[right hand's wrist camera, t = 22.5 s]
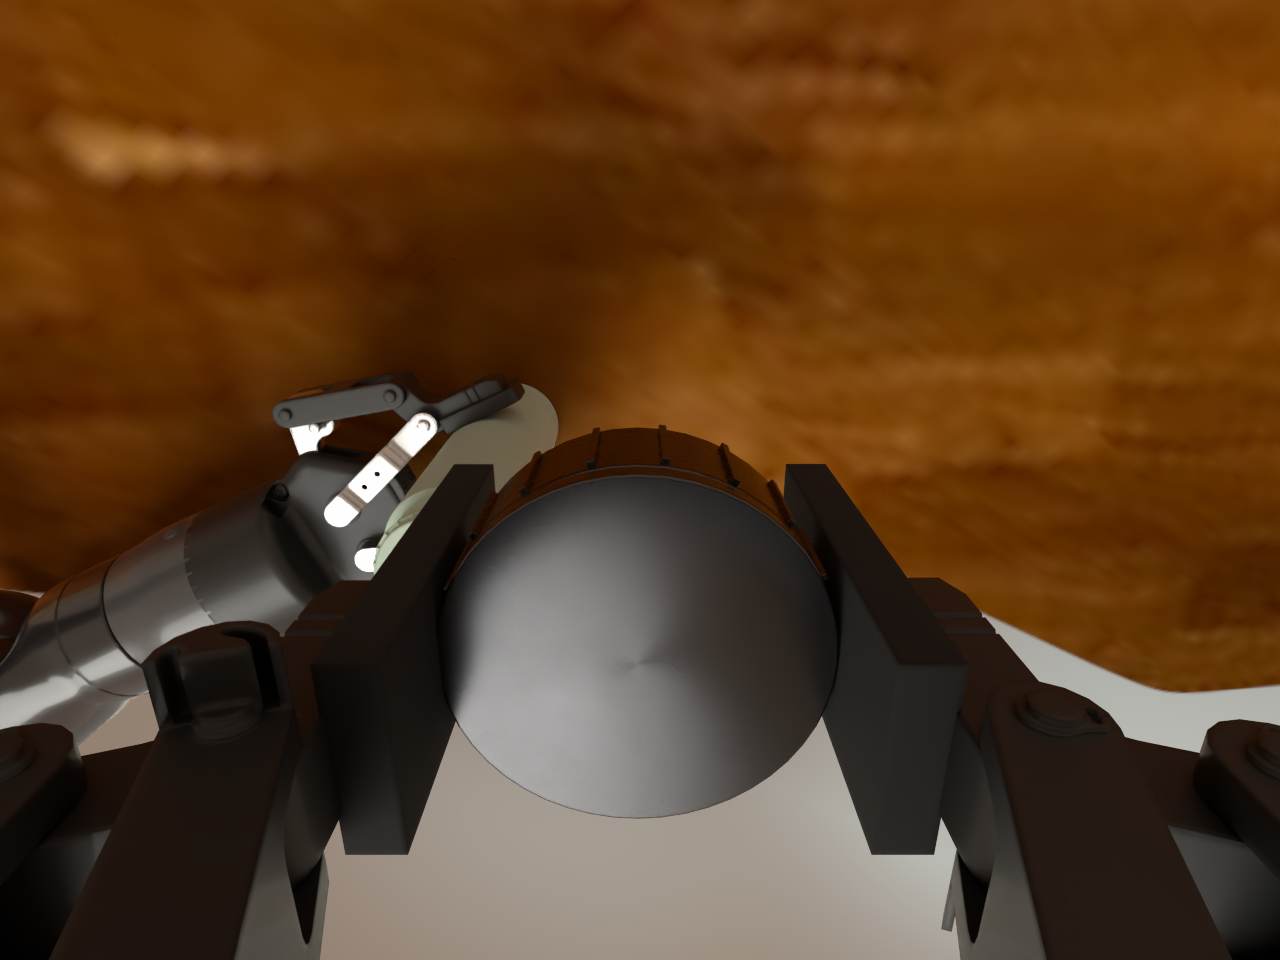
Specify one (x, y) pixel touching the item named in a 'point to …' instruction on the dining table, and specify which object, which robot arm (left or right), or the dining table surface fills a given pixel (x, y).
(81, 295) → the dining table surface
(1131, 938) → the right robot arm
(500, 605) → the lid
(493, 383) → the left robot arm
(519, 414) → the pale green capped tube
